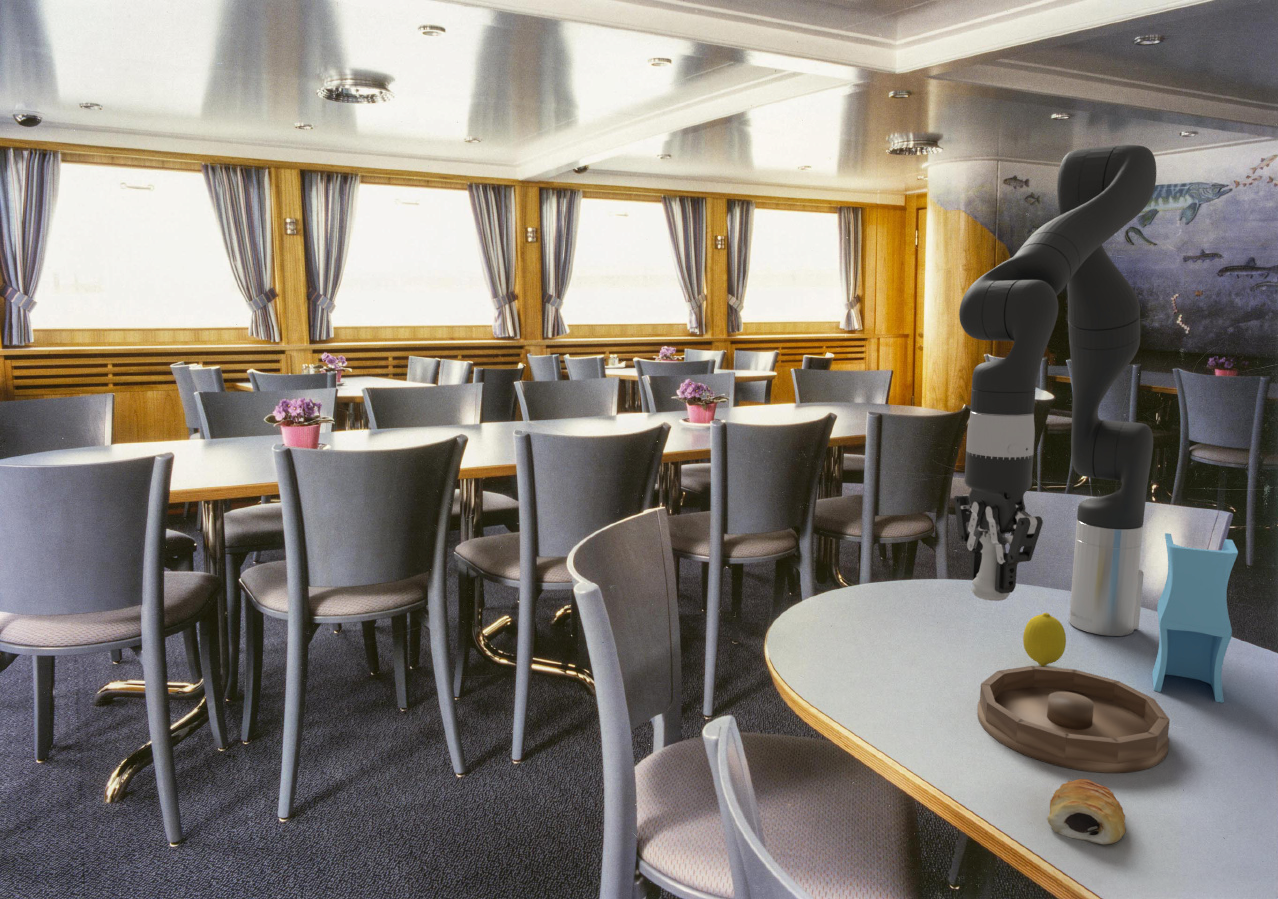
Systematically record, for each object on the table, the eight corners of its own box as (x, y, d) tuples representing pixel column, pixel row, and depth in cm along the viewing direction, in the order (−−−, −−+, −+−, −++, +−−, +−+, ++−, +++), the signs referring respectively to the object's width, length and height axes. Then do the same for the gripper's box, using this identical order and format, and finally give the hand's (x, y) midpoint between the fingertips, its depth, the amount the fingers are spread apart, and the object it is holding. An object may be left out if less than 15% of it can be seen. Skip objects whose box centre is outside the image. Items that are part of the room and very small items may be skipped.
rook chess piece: (1009, 591, 109) (1013, 529, 107) (1010, 603, 104) (1014, 539, 103) (970, 588, 110) (974, 526, 109) (970, 599, 106) (974, 535, 105)
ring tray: (1074, 681, 120) (1076, 657, 119) (1212, 756, 100) (1215, 727, 99) (942, 701, 114) (944, 676, 113) (1061, 785, 94) (1064, 755, 93)
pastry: (1056, 788, 94) (1059, 756, 93) (1127, 807, 90) (1131, 773, 90) (1045, 833, 86) (1048, 798, 85) (1122, 856, 82) (1126, 819, 82)
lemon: (1068, 675, 121) (1072, 621, 120) (1026, 672, 123) (1030, 618, 121) (1058, 659, 127) (1062, 607, 125) (1017, 657, 128) (1021, 605, 127)
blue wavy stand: (1217, 679, 120) (1232, 539, 116) (1223, 702, 113) (1240, 554, 110) (1151, 668, 123) (1164, 532, 120) (1153, 690, 117) (1167, 546, 113)
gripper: (1069, 457, 98) (1058, 601, 101) (988, 439, 112) (981, 566, 115) (1012, 461, 96) (1002, 608, 99) (937, 441, 110) (931, 571, 113)
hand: (991, 585), depth 107 cm, fingers closed on rook chess piece, 4 cm apart
